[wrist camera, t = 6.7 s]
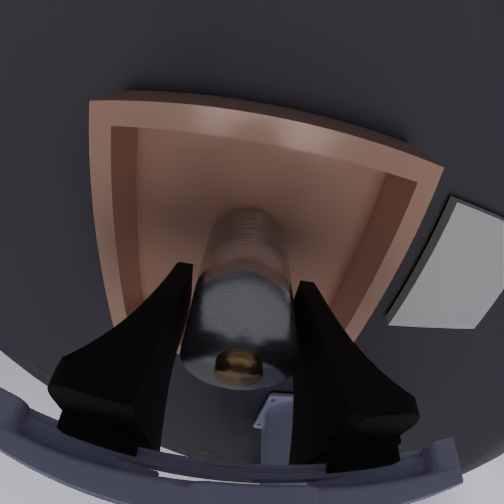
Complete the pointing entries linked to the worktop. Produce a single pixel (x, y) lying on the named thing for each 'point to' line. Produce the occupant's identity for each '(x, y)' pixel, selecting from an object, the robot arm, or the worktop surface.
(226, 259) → the cell
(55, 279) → the worktop surface
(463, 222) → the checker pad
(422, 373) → the worktop surface
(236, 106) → the bin
